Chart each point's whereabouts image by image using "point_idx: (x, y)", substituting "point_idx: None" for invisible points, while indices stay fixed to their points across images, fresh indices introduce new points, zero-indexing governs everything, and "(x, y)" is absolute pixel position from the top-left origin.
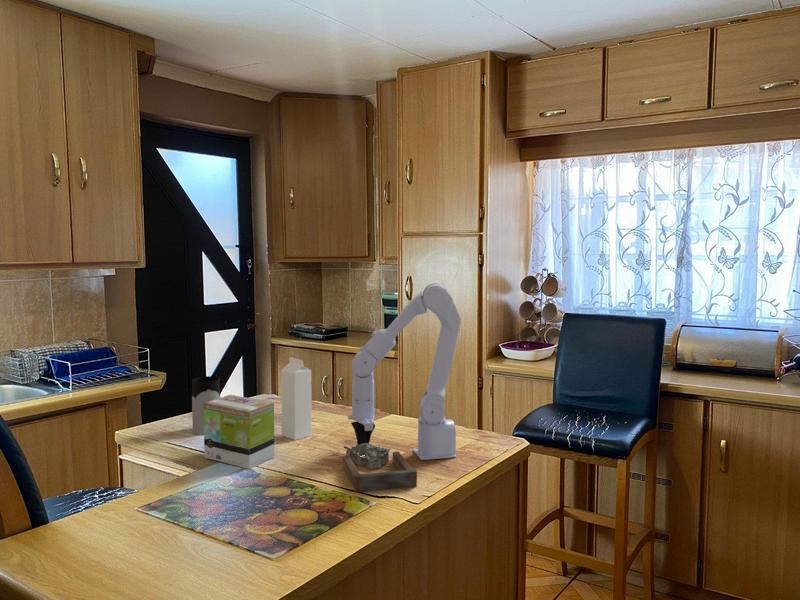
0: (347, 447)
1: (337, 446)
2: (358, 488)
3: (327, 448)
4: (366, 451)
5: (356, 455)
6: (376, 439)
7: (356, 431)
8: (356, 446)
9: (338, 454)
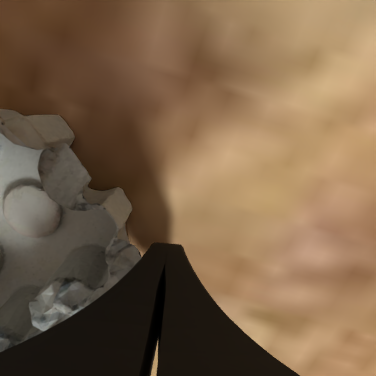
0: (7, 136)
1: (361, 140)
2: None
3: (358, 54)
4: (57, 272)
5: None
6: (356, 371)
7: (15, 347)
8: (115, 233)
9: (198, 99)
